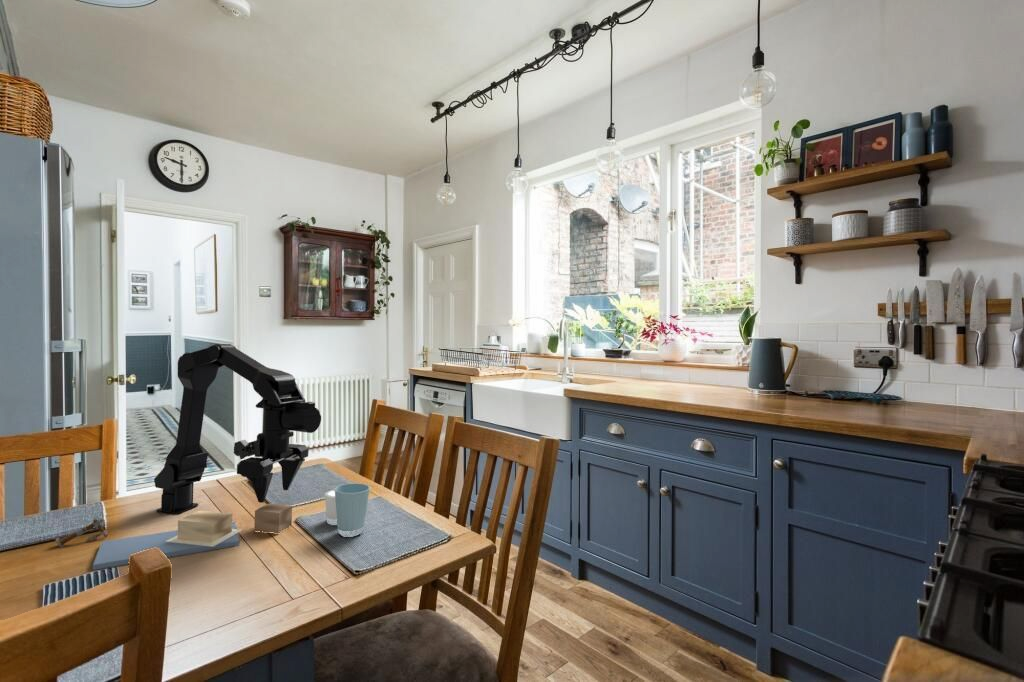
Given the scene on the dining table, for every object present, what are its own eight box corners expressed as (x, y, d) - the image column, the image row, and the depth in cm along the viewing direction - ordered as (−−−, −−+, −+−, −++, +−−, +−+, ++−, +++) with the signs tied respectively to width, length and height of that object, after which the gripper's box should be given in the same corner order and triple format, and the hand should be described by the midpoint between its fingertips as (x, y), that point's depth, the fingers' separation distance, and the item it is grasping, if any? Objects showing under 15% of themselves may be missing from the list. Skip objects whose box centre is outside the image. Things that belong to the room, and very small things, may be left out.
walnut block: (267, 524, 119) (268, 503, 119) (291, 526, 118) (292, 505, 118) (254, 532, 114) (254, 510, 114) (278, 535, 113) (279, 512, 113)
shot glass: (359, 519, 124) (360, 491, 124) (339, 528, 117) (340, 499, 117) (338, 514, 126) (339, 486, 126) (317, 523, 120) (318, 494, 120)
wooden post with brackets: (112, 534, 108) (102, 517, 106) (66, 558, 103) (55, 540, 102) (112, 531, 109) (102, 514, 108) (67, 555, 104) (55, 537, 103)
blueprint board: (91, 572, 93) (92, 566, 93) (102, 544, 104) (102, 539, 104) (245, 546, 106) (245, 540, 106) (239, 523, 118) (239, 519, 118)
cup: (350, 542, 110) (352, 495, 110) (325, 535, 113) (327, 489, 113) (375, 531, 117) (376, 486, 117) (350, 524, 120) (352, 481, 120)
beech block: (199, 528, 112) (199, 510, 112) (231, 531, 111) (232, 513, 111) (177, 539, 106) (178, 520, 106) (211, 542, 105) (212, 523, 105)
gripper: (269, 419, 126) (267, 481, 126) (215, 433, 107) (212, 506, 108) (310, 422, 124) (308, 485, 124) (262, 437, 106) (260, 510, 106)
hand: (273, 495), depth 116 cm, fingers open, 9 cm apart
